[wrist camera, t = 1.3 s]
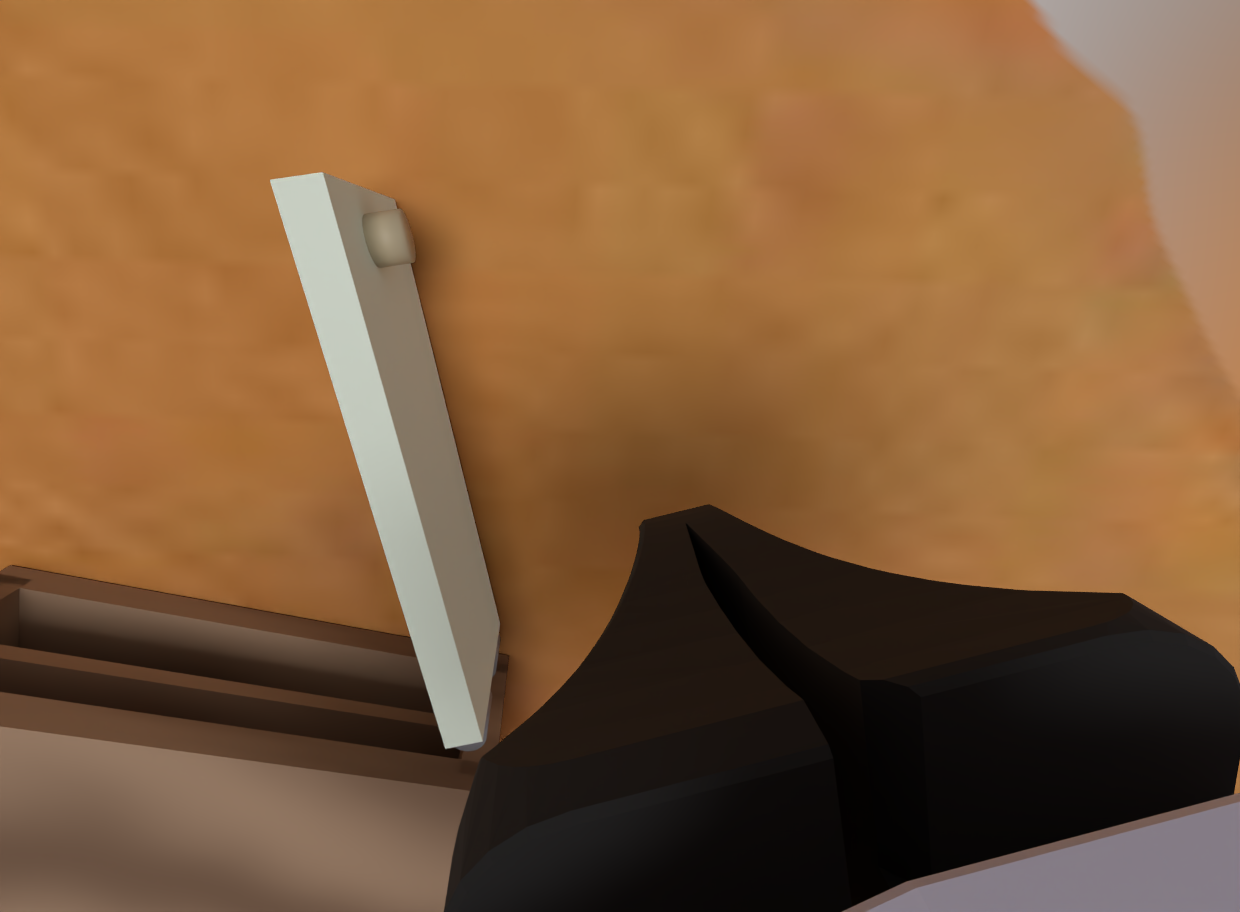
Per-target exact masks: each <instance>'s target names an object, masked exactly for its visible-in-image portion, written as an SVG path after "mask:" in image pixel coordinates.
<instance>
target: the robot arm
mask: <svg viewBox="0 0 1240 912" xmlns="http://www.w3.org/2000/svg"><path fill="white" fill-rule="evenodd" d="M639 530H640V538H639V544H638V549H637V554H636V558H635V561H634V564H633V568H632V571H631V574H630V577H629V580H628V582H627V585H626V587H625V590H624V592H623V595H622V597H621V599H620V602H619V604H618V606H617V608H616V610H615V612H614V614H613V616H612V618H611V620H610V622H609V623H608V625H607V627H606V629H605V630H604V632H603V634H602V635H601V637H600V639H599V640H598V642H597V643H596V644H595V646H594V647H593V649H592V650H591V652H590V653H589V655H588V656H587V657H586V659H585V660H584V661H583V663H582V664H581V665H580V667H579V668H578V669H577V670H576V671H575V673H574V674H573V675H572V676H571V677H570V678H569V679H568V680H567V681H566V683H565V684H564V685H563V686H562V687H561V688H560V689H559V690H558V691H557V692H556V693H555V694H554V695H553V696H552V697H551V698H550V699H549V700H548V701H547V702H546V703H545V704H544V705H543V706H542V707H541V708H540V709H539V710H538V711H537V712H535V713H534V714H533V715H532V716H531V717H530V718H529V719H527V720H526V721H525V722H524V723H523V724H521V725H520V726H519V727H518V728H517V729H515V730H514V731H513V732H512V733H511V734H509V735H508V736H507V737H506V738H505V739H503V740H502V741H501V742H500V743H499V744H497V745H496V746H495V747H494V748H493V749H491V750H490V751H489V752H487V753H486V754H485V755H483V756H482V757H481V759H480V761H479V764H478V767H477V770H476V773H475V776H474V779H473V783H472V786H471V789H470V792H469V795H468V798H467V802H466V805H465V808H464V812H463V815H462V818H461V822H460V825H459V828H458V832H457V836H456V841H455V846H454V851H453V855H452V862H451V868H450V874H449V881H448V887H447V894H446V900H445V907H444V912H1240V793H1238V794H1234V790H1235V784H1236V778H1237V772H1238V766H1239V760H1240V683H1239V680H1238V678H1237V675H1236V672H1235V670H1234V667H1233V666H1232V665H1231V664H1230V663H1229V662H1228V661H1227V660H1226V659H1225V658H1224V657H1223V656H1222V655H1221V654H1220V653H1219V652H1218V651H1217V650H1216V649H1215V648H1214V647H1213V646H1212V645H1210V644H1208V643H1207V642H1205V641H1203V640H1202V639H1200V638H1198V637H1196V636H1195V635H1193V634H1191V633H1190V632H1188V631H1186V630H1185V629H1183V628H1181V627H1180V626H1178V625H1176V624H1174V623H1173V622H1171V621H1169V620H1168V619H1166V618H1164V617H1163V616H1161V615H1159V614H1158V613H1156V612H1154V611H1153V610H1151V609H1149V608H1147V607H1146V606H1144V605H1142V604H1141V603H1139V602H1137V601H1136V600H1134V599H1132V598H1131V597H1129V596H1127V595H1125V594H1123V593H1097V592H1062V591H1027V590H1013V589H1002V588H991V587H981V586H970V585H961V584H954V583H946V582H939V581H932V580H927V579H921V578H915V577H910V576H904V575H899V574H893V573H889V572H884V571H880V570H875V569H871V568H867V567H863V566H860V565H856V564H852V563H849V562H845V561H842V560H838V559H834V558H831V557H828V556H825V555H822V554H819V553H816V552H814V551H811V550H808V549H806V548H803V547H800V546H798V545H795V544H792V543H790V542H787V541H785V540H783V539H780V538H778V537H776V536H773V535H771V534H769V533H767V532H765V531H762V530H760V529H758V528H756V527H754V526H752V525H750V524H748V523H746V522H744V521H742V520H740V519H738V518H736V517H734V516H732V515H730V514H728V513H726V512H724V511H722V510H720V509H718V508H716V507H714V506H712V505H709V504H708V505H704V506H700V507H696V508H691V509H687V510H683V511H679V512H675V513H671V514H667V515H663V516H659V517H655V518H651V519H646V520H644V521H643V522H642V523H641V525H640V526H639Z"/></svg>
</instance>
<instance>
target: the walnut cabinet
mask: <svg viewBox="0 0 1240 912" xmlns="http://www.w3.org/2000/svg"><path fill="white" fill-rule="evenodd" d="M508 660H509V656H508V655H503V654H498V661H497V668H496V673H495V675H494V676H493V677H492V682H491V689H490V690H491V692H492V703H491V710H490V717H489V724H488V731H487V739H486V742H485V743H484V745H483V746H482V747H481V748H479V749H477V750H474V751H462V750H459V749H457V748H455V747H452V748H447V749H445V746H444V743H443V740H442V736H441V733H440V730H439V727H438V723H437V720H436V717H435V714H434V710H433V707H432V704H431V701H430V697H429V694H428V691H427V688H426V685H425V681H424V678H423V675H422V672H421V668H420V665H419V662H418V659H417V655H416V652H415V649H414V646H413V642H412V639H411V638H409V637H403V636H398V635H392V634H387V633H381V632H376V631H370V630H364V629H359V628H353V627H348V626H342V625H337V624H331V623H326V622H320V621H315V620H309V619H304V618H298V617H293V616H287V615H282V614H276V613H271V612H265V611H260V610H254V609H249V608H243V607H237V606H232V605H226V604H221V603H215V602H210V601H204V600H199V599H193V598H188V597H182V596H177V595H171V594H166V593H160V592H155V591H149V590H144V589H138V588H133V587H127V586H122V585H116V584H110V583H105V582H99V581H94V580H88V579H83V578H77V577H72V576H66V575H61V574H55V573H50V572H44V571H39V570H33V569H28V568H22V567H17V566H11V565H10V566H8V567H6V568H5V569H3V570H1V571H0V912H444V907H445V900H446V894H447V887H448V881H449V874H450V868H451V862H452V855H453V851H454V846H455V841H456V836H457V832H458V828H459V825H460V822H461V818H462V815H463V812H464V808H465V805H466V802H467V798H468V795H469V792H470V789H471V786H472V783H473V779H474V776H475V773H476V770H477V767H478V764H479V761H480V759H481V757H482V756H483V755H485V754H486V753H487V752H489V751H490V750H491V749H493V748H494V747H495V746H496V745H497V744H499V739H500V730H501V721H502V712H503V704H504V695H505V686H506V677H507V668H508Z"/></svg>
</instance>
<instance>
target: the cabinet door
mask: <svg viewBox="0 0 1240 912" xmlns="http://www.w3.org/2000/svg"><path fill="white" fill-rule="evenodd" d="M270 182H271V185H272V188H273V192H274V195H275V198H276V201H277V205H278V208H279V211H280V214H281V218H282V221H283V224H284V227H285V231H286V234H287V237H288V240H289V244H290V247H291V250H292V253H293V257H294V260H295V263H296V266H297V270H298V273H299V276H300V279H301V282H302V286H303V289H304V292H305V295H306V299H307V302H308V305H309V308H310V312H311V315H312V318H313V321H314V325H315V328H316V331H317V334H318V338H319V341H320V344H321V347H322V351H323V354H324V357H325V360H326V364H327V367H328V370H329V373H330V377H331V380H332V383H333V386H334V389H335V393H336V396H337V399H338V402H339V406H340V409H341V412H342V415H343V419H344V422H345V425H346V428H347V432H348V435H349V438H350V441H351V445H352V448H353V451H354V454H355V458H356V461H357V464H358V467H359V471H360V474H361V477H362V480H363V484H364V487H365V490H366V493H367V496H368V500H369V503H370V506H371V509H372V513H373V516H374V519H375V522H376V526H377V529H378V532H379V535H380V539H381V542H382V545H383V548H384V552H385V555H386V558H387V561H388V565H389V568H390V571H391V574H392V578H393V581H394V584H395V587H396V590H397V594H398V597H399V600H400V603H401V607H402V610H403V613H404V616H405V620H406V623H407V626H408V629H409V633H410V636H411V639H412V642H413V646H414V649H415V652H416V655H417V659H418V662H419V665H420V668H421V672H422V675H423V678H424V681H425V685H426V688H427V691H428V694H429V697H430V701H431V704H432V707H433V710H434V714H435V717H436V720H437V723H438V727H439V730H440V733H441V736H442V740H443V743H444V746H445V749H447V748H452V747H455V748H457V749H459V750H462V751H474V750H477V749H479V748H481V747H482V746H483V745H484V743H485V742H486V739H487V731H488V724H489V717H490V710H491V703H492V692H491V690H490V689H491V682H492V677H493V676H494V675H495V673H496V668H497V661H498V653H499V646H500V635H499V628H500V621H499V617H498V613H497V609H496V605H495V601H494V597H493V593H492V589H491V585H490V581H489V577H488V573H487V569H486V564H485V560H484V556H483V552H482V548H481V544H480V540H479V536H478V532H477V528H476V524H475V520H474V516H473V512H472V508H471V504H470V500H469V496H468V492H467V488H466V484H465V480H464V476H463V472H462V468H461V464H460V460H459V456H458V452H457V448H456V444H455V440H454V436H453V432H452V428H451V424H450V420H449V416H448V412H447V408H446V404H445V400H444V396H443V392H442V388H441V384H440V380H439V375H438V371H437V367H436V363H435V359H434V355H433V351H432V347H431V343H430V339H429V335H428V331H427V327H426V323H425V319H424V315H423V311H422V307H421V303H420V299H419V295H418V291H417V287H416V283H415V279H414V275H413V271H412V267H411V263H414V262H415V260H416V251H415V244H414V239H413V235H412V232H411V228H410V225H409V222H408V220H407V217H406V215H405V213H404V212H403V210H402V209H397V207H396V203H395V199H392V198H389V197H387V196H384V195H382V194H379V193H376V192H374V191H371V190H368V189H366V188H363V187H360V186H358V185H355V184H352V183H350V182H347V181H345V180H342V179H339V178H337V177H334V176H331V175H329V174H326V173H323V172H321V173H314V174H307V175H300V176H293V177H286V178H279V179H272V180H270Z"/></svg>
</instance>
